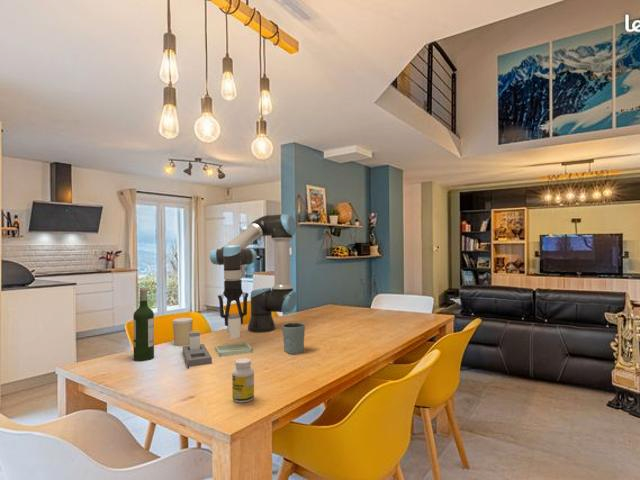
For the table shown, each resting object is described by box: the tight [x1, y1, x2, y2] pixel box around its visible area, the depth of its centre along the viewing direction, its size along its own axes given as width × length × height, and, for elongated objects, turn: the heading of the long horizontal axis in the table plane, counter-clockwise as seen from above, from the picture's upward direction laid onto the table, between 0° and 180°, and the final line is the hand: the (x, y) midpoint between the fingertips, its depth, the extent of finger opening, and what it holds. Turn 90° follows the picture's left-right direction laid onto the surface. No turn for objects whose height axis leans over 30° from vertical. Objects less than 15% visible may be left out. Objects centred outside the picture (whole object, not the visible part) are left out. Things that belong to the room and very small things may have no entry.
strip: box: [182, 343, 213, 369], centre depth 156 cm, size 9×24×4 cm, turn 25°
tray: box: [214, 341, 253, 358], centre depth 165 cm, size 14×12×2 cm
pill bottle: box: [231, 357, 255, 403], centre depth 113 cm, size 6×6×12 cm
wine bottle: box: [132, 286, 155, 362], centre depth 158 cm, size 8×8×30 cm
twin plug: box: [188, 330, 201, 350], centre depth 162 cm, size 4×4×10 cm
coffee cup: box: [172, 317, 194, 347], centre depth 181 cm, size 9×9×12 cm
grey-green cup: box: [281, 322, 306, 356], centre depth 164 cm, size 10×10×12 cm
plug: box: [228, 312, 241, 340], centre depth 166 cm, size 4×4×10 cm
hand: (234, 332), depth 166 cm, fingers closed on plug, 4 cm apart
